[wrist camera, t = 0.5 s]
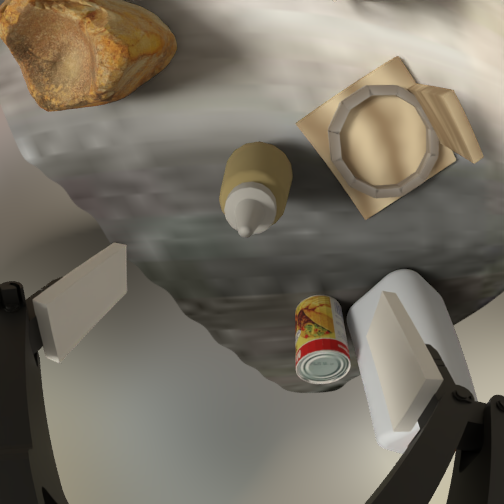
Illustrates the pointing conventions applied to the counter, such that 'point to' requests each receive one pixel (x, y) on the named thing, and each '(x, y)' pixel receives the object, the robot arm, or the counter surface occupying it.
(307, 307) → the canned food
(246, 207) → the squeeze bottle
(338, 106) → the cup bracket
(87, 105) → the rough brown rock
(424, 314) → the plastic bottle
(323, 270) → the counter surface
